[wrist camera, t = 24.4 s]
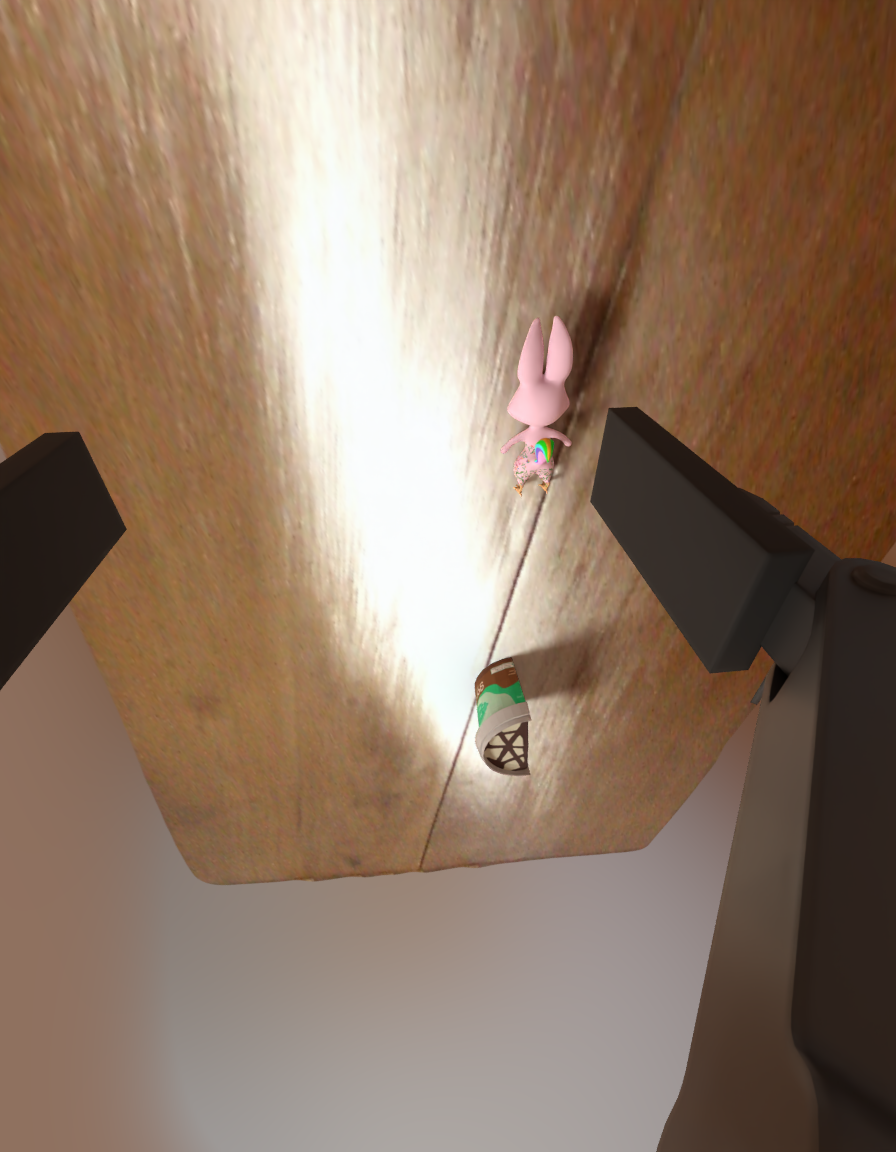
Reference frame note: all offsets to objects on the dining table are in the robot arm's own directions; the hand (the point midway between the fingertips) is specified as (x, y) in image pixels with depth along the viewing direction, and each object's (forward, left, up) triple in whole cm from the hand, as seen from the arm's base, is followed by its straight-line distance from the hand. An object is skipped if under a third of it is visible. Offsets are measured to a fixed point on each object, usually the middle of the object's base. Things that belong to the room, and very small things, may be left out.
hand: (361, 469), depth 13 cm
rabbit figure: (-3, +15, -29) cm, 33 cm away
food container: (+24, +39, -29) cm, 54 cm away
